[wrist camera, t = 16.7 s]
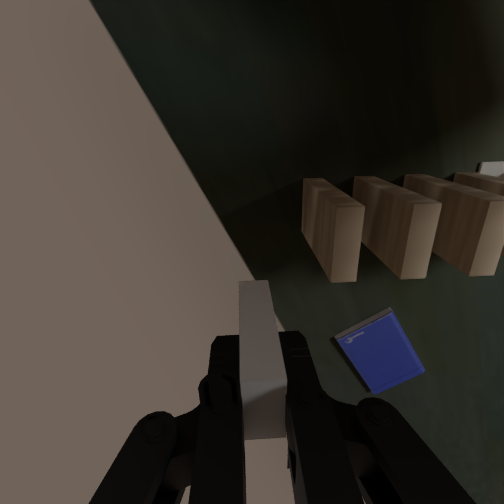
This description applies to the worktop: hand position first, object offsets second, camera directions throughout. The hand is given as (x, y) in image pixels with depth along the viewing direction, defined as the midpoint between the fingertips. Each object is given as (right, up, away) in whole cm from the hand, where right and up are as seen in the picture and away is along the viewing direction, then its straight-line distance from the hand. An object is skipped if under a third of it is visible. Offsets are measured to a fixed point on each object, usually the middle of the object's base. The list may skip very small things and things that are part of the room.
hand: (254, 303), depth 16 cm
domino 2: (+12, +8, +17) cm, 23 cm away
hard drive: (+18, -11, +27) cm, 34 cm away
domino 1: (+6, +8, +17) cm, 20 cm away
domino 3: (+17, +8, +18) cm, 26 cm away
